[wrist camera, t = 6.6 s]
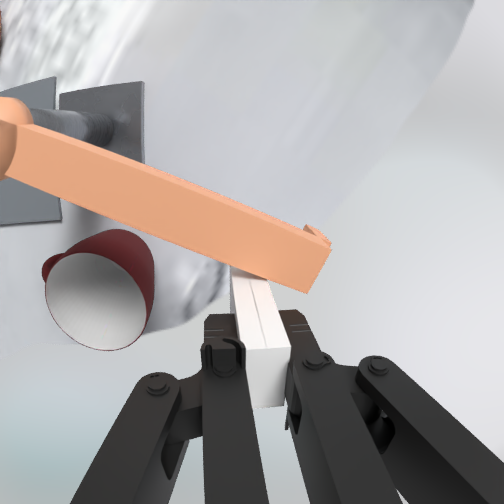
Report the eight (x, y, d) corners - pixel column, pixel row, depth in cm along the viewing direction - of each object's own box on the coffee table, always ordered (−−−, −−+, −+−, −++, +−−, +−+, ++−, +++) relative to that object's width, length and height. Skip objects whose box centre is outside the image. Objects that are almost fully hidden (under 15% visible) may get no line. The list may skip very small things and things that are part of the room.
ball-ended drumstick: (291, 280, 17) (308, 314, 14) (-8, 161, 13) (-47, 171, 10) (326, 214, 16) (353, 236, 13) (11, 92, 12) (-28, 90, 8)
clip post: (66, 177, 26) (-32, 220, 12) (64, 94, 23) (-38, 82, 10) (144, 170, 27) (80, 210, 13) (144, 82, 24) (78, 42, 10)
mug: (76, 290, 30) (36, 346, 21) (62, 215, 27) (8, 253, 18) (170, 289, 31) (155, 353, 22) (164, 210, 28) (139, 249, 19)
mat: (-30, 226, 26) (-32, 227, 25) (-39, 107, 21) (-41, 107, 20) (62, 218, 27) (60, 219, 27) (56, 76, 22) (54, 76, 22)
